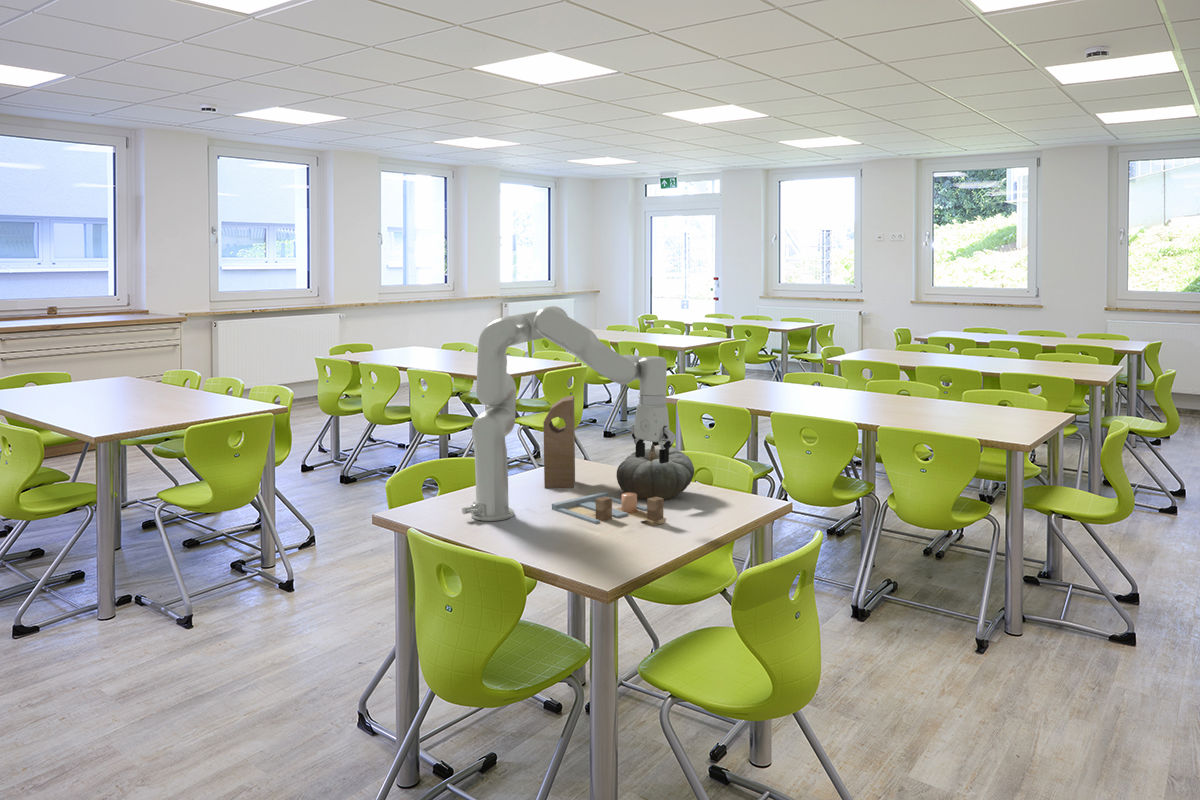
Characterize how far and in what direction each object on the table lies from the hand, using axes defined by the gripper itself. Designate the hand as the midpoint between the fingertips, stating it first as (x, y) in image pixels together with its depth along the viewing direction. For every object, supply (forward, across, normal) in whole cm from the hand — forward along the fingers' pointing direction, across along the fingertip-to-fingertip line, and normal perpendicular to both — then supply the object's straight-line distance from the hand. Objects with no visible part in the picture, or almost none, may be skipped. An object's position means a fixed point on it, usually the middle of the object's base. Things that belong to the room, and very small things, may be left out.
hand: (651, 459), depth 242 cm
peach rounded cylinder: (+17, -10, 0) cm, 20 cm away
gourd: (+19, -20, +21) cm, 35 cm away
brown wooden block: (+19, -11, -10) cm, 24 cm away
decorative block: (+19, -53, +8) cm, 57 cm away
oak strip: (+19, -6, +1) cm, 19 cm away
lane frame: (+19, -17, -5) cm, 26 cm away
